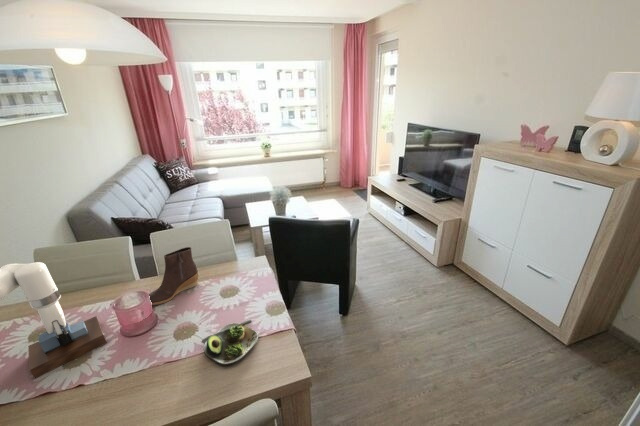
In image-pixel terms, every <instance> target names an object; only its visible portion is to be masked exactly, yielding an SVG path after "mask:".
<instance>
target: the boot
mask: <svg viewBox="0 0 640 426" xmlns="http://www.w3.org/2000/svg"><path fill="white" fill-rule="evenodd" d="M163 258H164V274H163V277H162V282H161V283H160V286H159V287H158V288H156V289H154V290H153V291H151V292H150V293H148V294H149V296H150V300H151V302H152V305H151V306H157V305H161V304H165V303H167V302H169V301H171V300H172V299H174V297H176V296H177V295H178V294H179V293H181V292H183V291H186V290H189V289H192V288H195V287H196V286H197V285H198V284H199V283H198V282H199V269H198V265H197V263H196V262H195V261H194V259H193V253H192V247H191V246H186V247H182V248H179V249H176V250H175V251H171V252H169V253H166V254H164V255H163Z"/></svg>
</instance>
